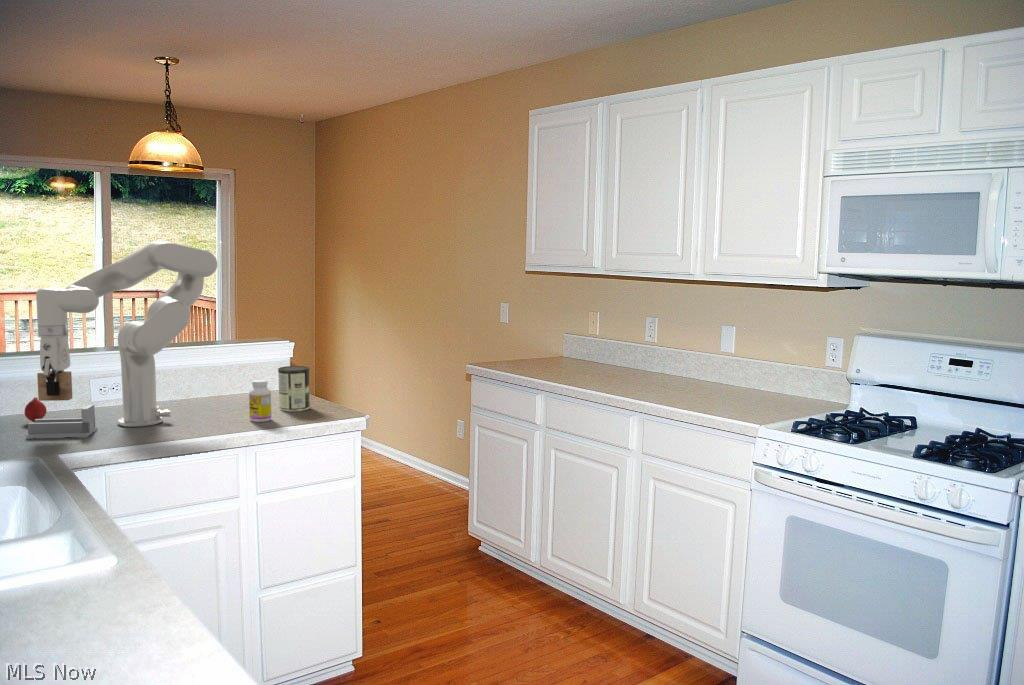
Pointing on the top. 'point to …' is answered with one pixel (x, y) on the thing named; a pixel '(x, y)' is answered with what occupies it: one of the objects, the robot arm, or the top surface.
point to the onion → (35, 410)
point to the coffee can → (293, 388)
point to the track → (64, 426)
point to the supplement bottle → (260, 401)
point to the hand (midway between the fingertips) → (55, 393)
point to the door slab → (64, 387)
